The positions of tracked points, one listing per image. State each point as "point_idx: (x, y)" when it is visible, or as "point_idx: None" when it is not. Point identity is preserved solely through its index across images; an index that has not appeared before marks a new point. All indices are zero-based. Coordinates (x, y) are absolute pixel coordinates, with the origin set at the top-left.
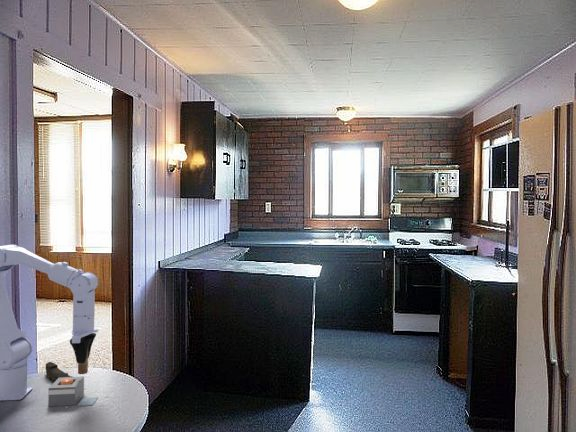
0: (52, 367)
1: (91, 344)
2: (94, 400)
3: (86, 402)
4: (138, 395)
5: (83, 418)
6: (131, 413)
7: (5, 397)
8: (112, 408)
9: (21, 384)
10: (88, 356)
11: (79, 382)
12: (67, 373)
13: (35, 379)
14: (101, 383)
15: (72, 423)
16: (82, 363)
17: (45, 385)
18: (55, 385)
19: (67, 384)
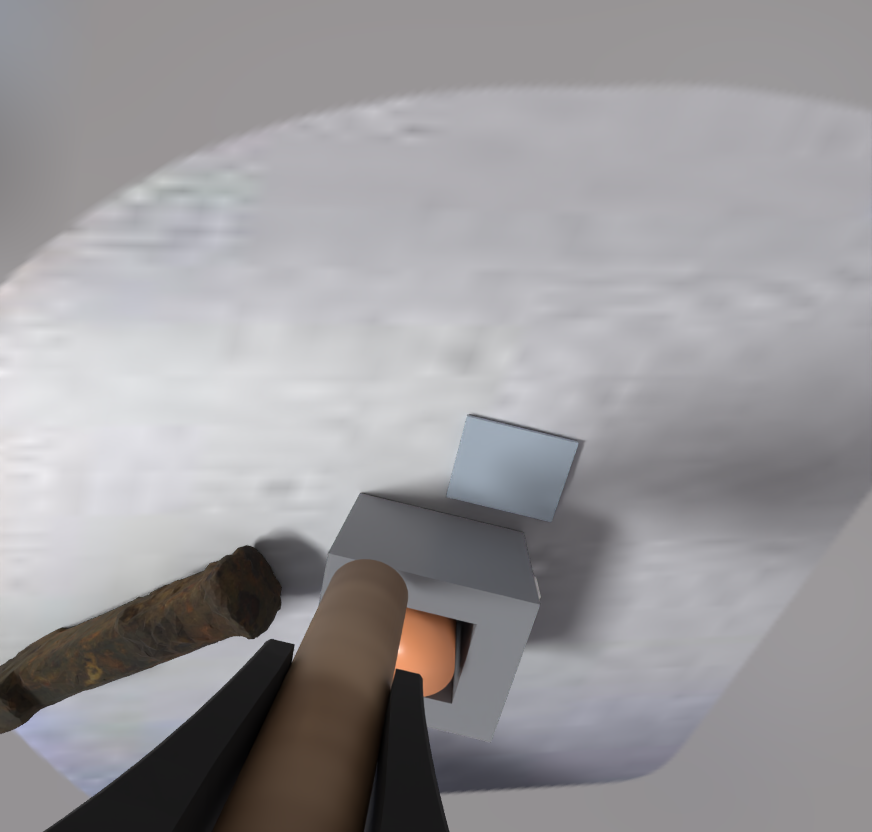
0: (25, 707)
1: (152, 814)
2: (517, 435)
3: (530, 478)
4: (526, 128)
5: (746, 486)
6: (843, 195)
7: None
8: (683, 325)
9: None
10: (282, 666)
11: (442, 578)
12: (129, 621)
13: (85, 713)
14: (212, 393)
15: (783, 537)
16: (391, 679)
17: (182, 670)
18: (455, 710)
19: (454, 646)
